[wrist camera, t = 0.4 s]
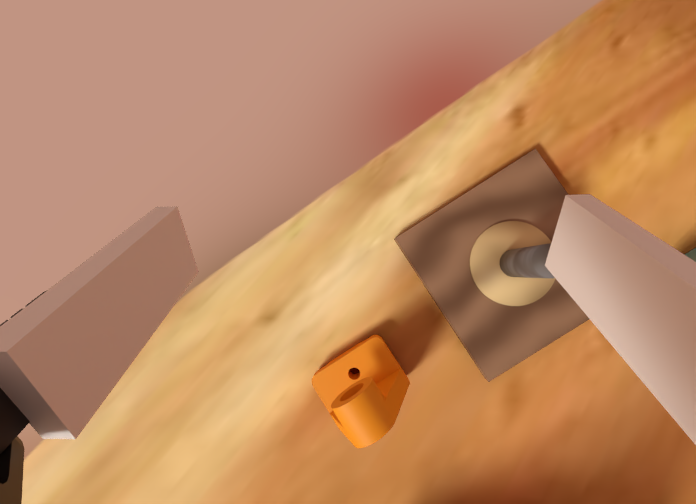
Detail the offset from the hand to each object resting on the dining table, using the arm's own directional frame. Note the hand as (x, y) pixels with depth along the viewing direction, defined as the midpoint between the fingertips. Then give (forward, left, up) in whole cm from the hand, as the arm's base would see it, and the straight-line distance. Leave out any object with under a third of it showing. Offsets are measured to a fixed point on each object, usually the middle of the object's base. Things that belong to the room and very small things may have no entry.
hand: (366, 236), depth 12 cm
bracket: (-12, +9, -35) cm, 39 cm away
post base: (-10, -16, -35) cm, 40 cm away
